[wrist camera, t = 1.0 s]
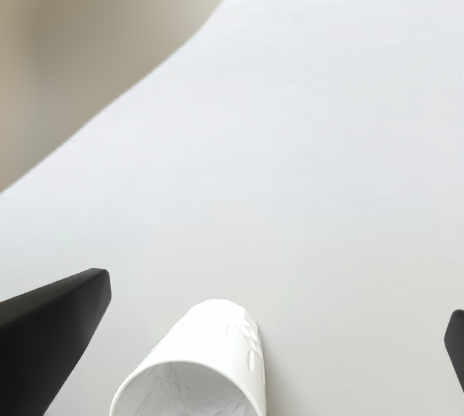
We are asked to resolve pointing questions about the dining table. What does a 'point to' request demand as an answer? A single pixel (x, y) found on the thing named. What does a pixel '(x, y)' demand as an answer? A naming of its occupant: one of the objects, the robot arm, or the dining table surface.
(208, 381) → the white cup
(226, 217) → the dining table surface
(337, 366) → the dining table surface
